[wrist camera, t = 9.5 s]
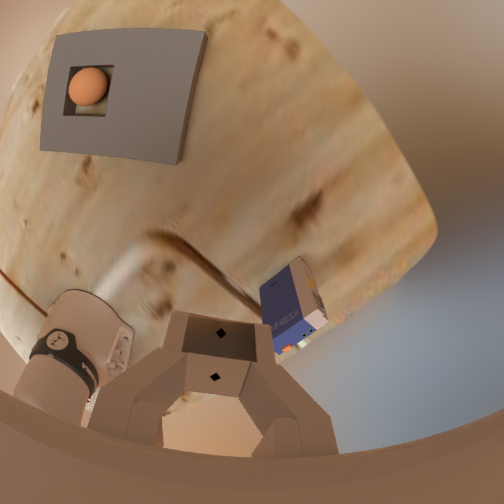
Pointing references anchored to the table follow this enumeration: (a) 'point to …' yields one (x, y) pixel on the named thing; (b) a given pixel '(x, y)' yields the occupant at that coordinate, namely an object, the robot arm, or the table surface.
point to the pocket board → (125, 93)
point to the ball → (88, 86)
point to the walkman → (292, 305)
